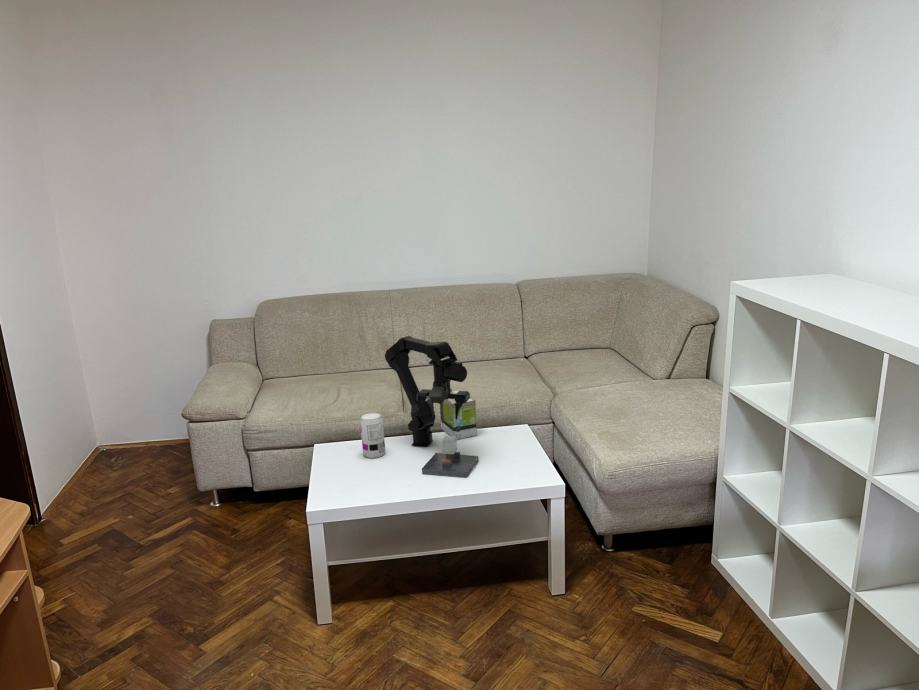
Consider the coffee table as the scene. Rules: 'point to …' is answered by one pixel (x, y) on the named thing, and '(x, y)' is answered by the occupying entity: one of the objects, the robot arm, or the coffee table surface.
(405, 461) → the coffee table surface
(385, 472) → the coffee table surface
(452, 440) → the grey metal cube
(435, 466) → the stand
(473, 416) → the tea box
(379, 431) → the supplement can
